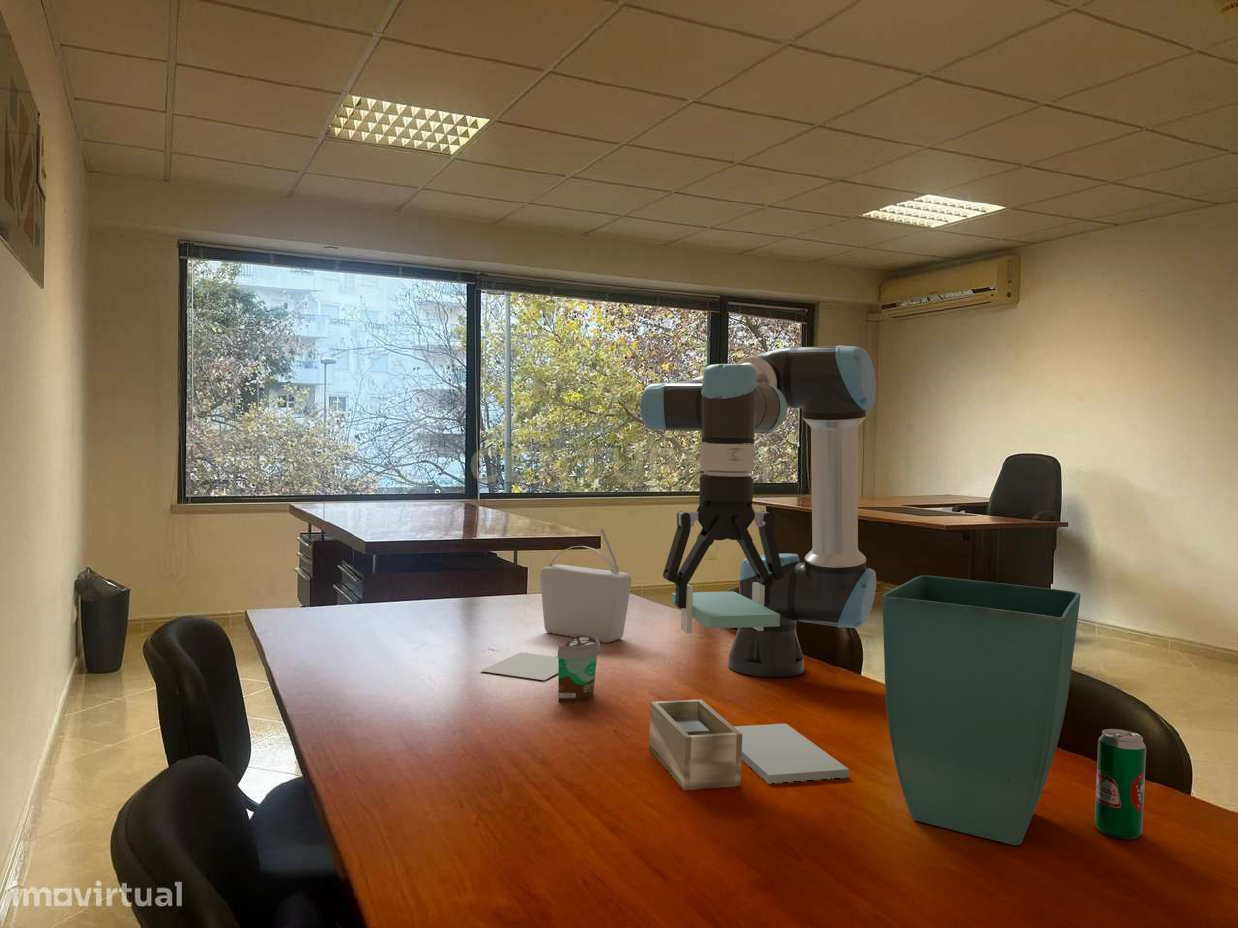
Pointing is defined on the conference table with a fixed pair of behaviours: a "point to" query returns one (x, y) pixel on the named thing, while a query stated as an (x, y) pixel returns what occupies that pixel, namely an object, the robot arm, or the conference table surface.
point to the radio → (585, 599)
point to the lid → (730, 611)
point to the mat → (786, 755)
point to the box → (695, 744)
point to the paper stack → (526, 666)
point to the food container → (577, 668)
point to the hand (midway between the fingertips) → (722, 629)
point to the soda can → (1120, 784)
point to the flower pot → (976, 698)
